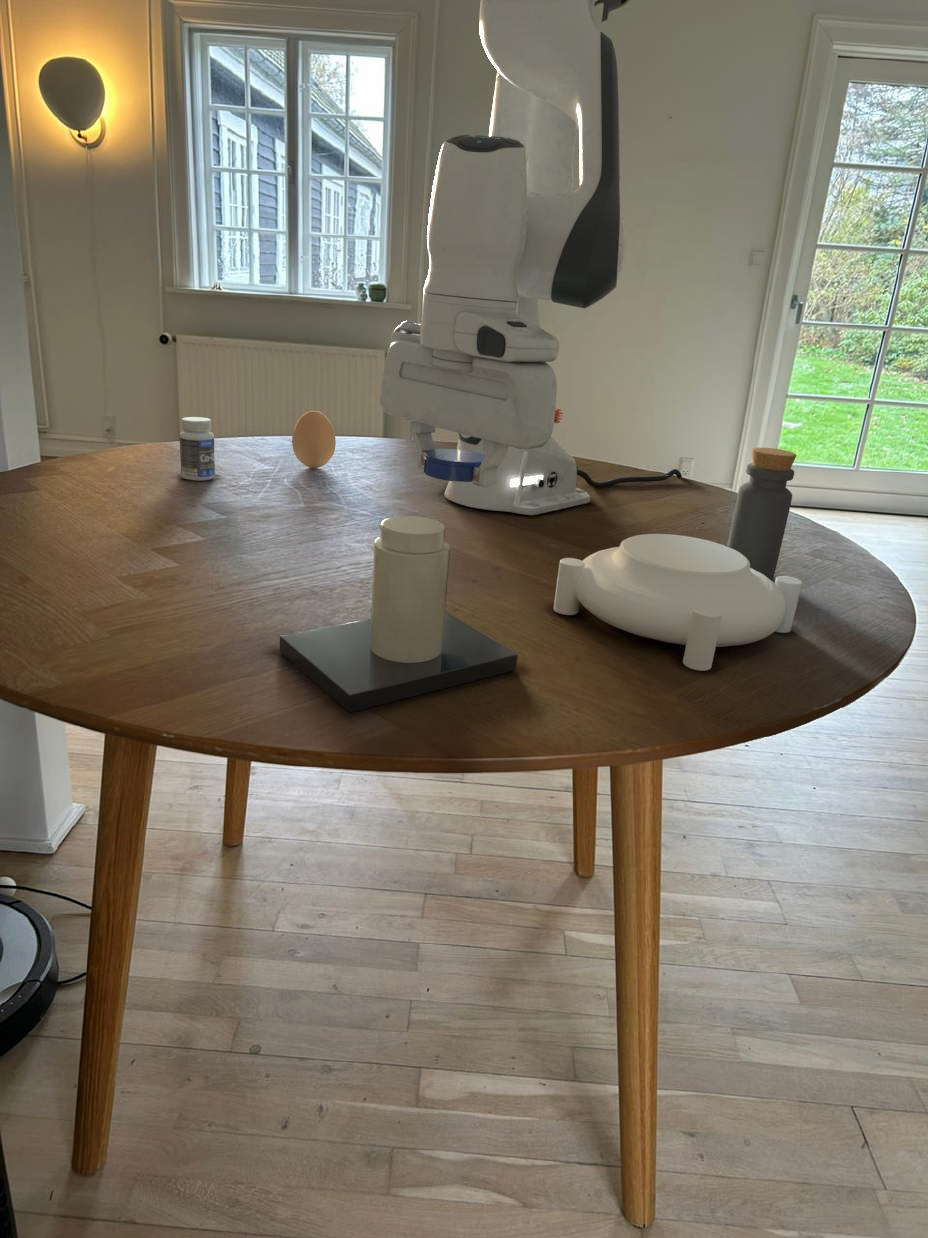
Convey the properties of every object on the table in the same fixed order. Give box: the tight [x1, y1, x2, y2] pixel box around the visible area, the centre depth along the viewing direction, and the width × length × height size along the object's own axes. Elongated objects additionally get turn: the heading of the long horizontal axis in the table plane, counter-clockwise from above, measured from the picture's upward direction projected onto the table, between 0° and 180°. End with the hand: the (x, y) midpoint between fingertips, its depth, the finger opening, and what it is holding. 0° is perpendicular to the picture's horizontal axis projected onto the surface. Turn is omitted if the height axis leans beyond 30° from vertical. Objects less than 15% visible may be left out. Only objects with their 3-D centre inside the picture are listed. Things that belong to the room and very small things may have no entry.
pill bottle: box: [179, 416, 216, 482], centre depth 122 cm, size 5×5×8 cm
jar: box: [370, 515, 451, 663], centre depth 69 cm, size 6×6×11 cm
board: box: [279, 610, 518, 714], centre depth 71 cm, size 16×12×2 cm
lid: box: [423, 448, 486, 482], centre depth 84 cm, size 6×6×2 cm
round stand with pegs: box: [553, 533, 803, 672], centre depth 84 cm, size 24×24×7 cm
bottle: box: [726, 447, 797, 582], centre depth 97 cm, size 6×6×15 cm
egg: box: [291, 410, 336, 469], centre depth 134 cm, size 7×7×9 cm
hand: (454, 476), depth 85 cm, fingers closed on lid, 6 cm apart
